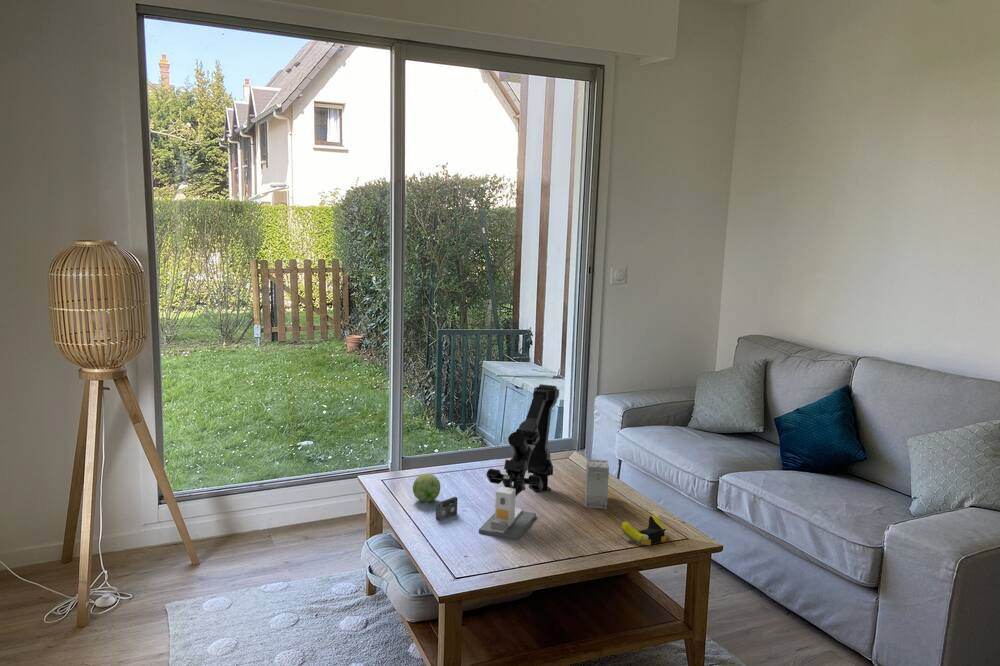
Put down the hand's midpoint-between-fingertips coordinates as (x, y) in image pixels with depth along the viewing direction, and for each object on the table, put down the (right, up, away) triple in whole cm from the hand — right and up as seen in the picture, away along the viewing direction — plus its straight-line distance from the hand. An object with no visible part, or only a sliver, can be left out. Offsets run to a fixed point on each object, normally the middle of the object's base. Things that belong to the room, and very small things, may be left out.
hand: (508, 503), depth 236 cm
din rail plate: (0, -8, +2) cm, 8 cm away
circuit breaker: (+32, -5, +26) cm, 41 cm away
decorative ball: (-29, -4, +19) cm, 35 cm away
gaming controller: (+44, -11, -5) cm, 46 cm away
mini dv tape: (-21, -6, +7) cm, 23 cm away
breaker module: (-1, -7, -2) cm, 7 cm away
